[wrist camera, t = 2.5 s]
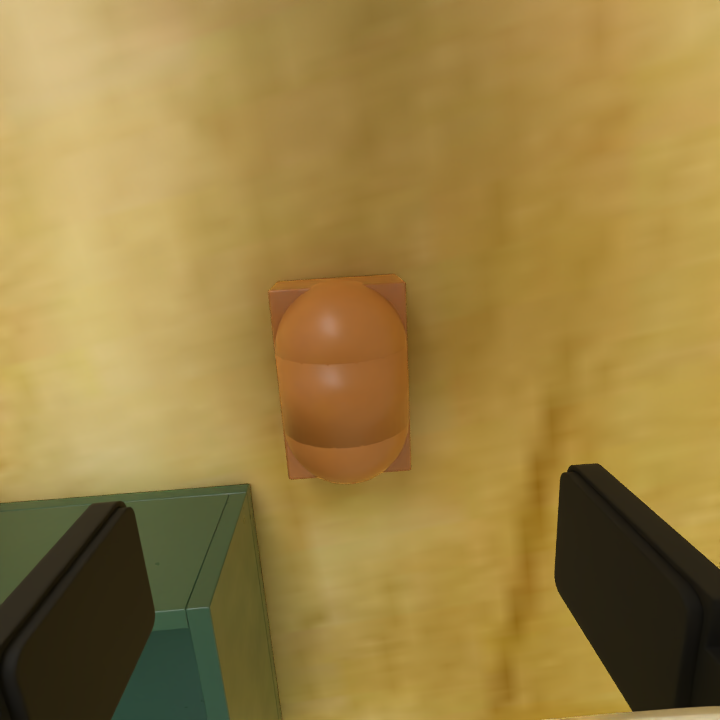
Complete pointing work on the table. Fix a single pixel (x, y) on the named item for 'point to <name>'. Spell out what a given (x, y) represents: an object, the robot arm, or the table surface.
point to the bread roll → (343, 376)
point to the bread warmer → (177, 599)
